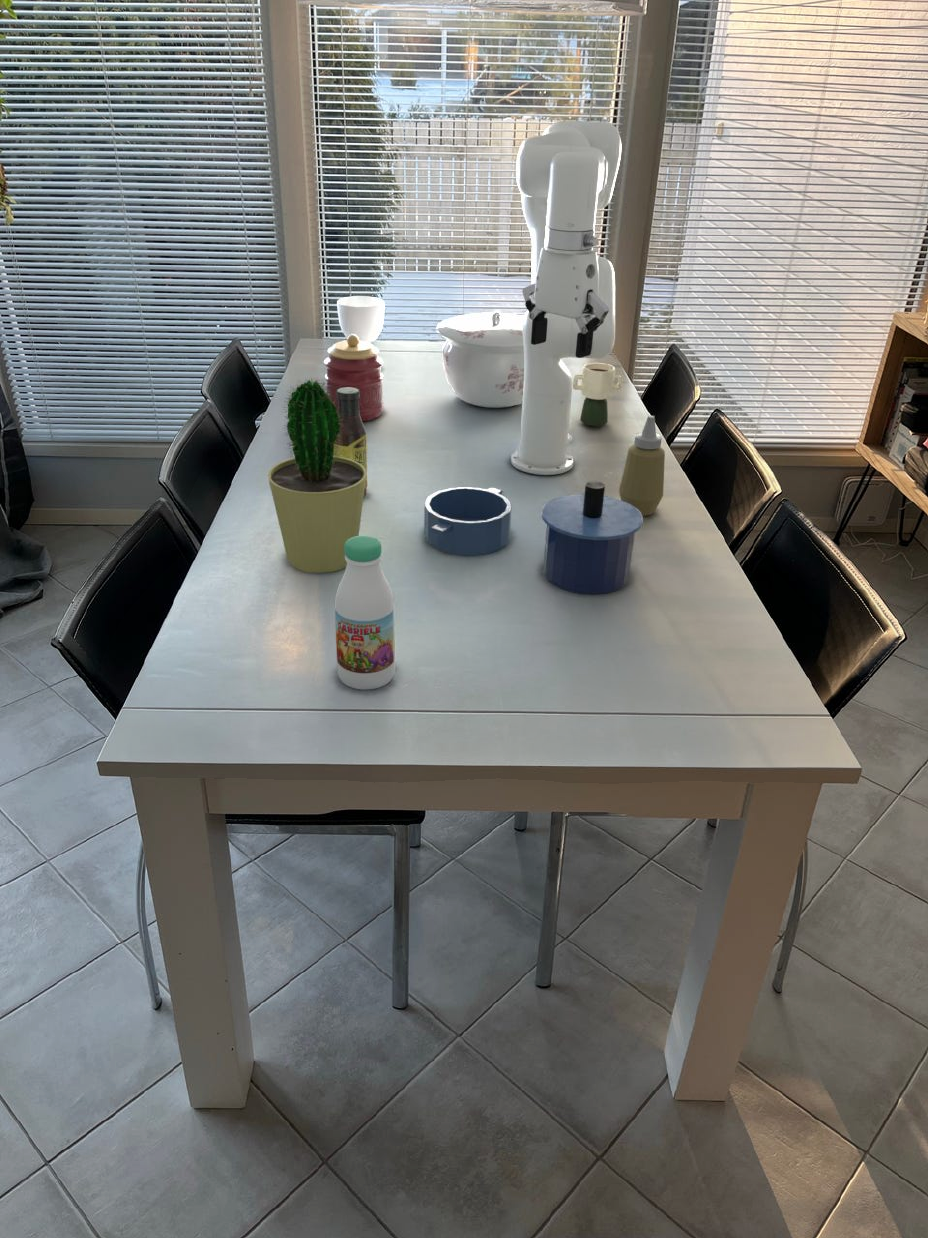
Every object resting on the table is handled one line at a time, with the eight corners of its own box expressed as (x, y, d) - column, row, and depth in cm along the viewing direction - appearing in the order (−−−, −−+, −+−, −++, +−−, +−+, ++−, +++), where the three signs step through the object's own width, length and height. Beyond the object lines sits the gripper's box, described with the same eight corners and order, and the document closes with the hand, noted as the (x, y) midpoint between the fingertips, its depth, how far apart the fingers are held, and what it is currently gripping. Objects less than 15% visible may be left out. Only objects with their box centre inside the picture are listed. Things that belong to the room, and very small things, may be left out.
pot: (565, 546, 165) (570, 492, 160) (641, 567, 159) (649, 512, 154) (528, 579, 155) (532, 522, 149) (608, 603, 149) (615, 545, 144)
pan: (399, 547, 163) (399, 514, 160) (460, 506, 178) (461, 475, 175) (474, 569, 157) (476, 536, 154) (530, 525, 172) (533, 494, 168)
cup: (339, 362, 252) (337, 295, 243) (384, 362, 253) (383, 295, 244) (339, 376, 242) (336, 306, 233) (386, 376, 243) (385, 307, 234)
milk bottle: (338, 659, 133) (332, 528, 123) (394, 658, 134) (393, 528, 123) (336, 692, 127) (330, 557, 116) (395, 690, 127) (394, 556, 117)
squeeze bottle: (663, 505, 181) (677, 412, 171) (656, 522, 174) (670, 427, 165) (621, 498, 183) (632, 406, 173) (612, 515, 176) (624, 420, 167)
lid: (523, 527, 149) (526, 490, 146) (567, 492, 161) (570, 457, 158) (618, 553, 143) (623, 515, 139) (656, 515, 154) (662, 479, 151)
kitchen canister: (394, 416, 218) (393, 338, 209) (343, 426, 212) (340, 345, 202) (366, 400, 227) (364, 324, 218) (316, 409, 221) (312, 331, 211)
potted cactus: (372, 576, 154) (368, 392, 138) (274, 581, 151) (259, 395, 136) (365, 533, 167) (360, 361, 151) (274, 538, 164) (260, 363, 149)
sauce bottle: (362, 503, 178) (359, 397, 167) (329, 499, 179) (324, 394, 168) (372, 489, 183) (369, 386, 173) (340, 485, 184) (336, 383, 174)
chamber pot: (462, 424, 215) (465, 330, 204) (417, 387, 236) (418, 300, 225) (572, 411, 225) (580, 320, 214) (520, 376, 246) (525, 293, 235)
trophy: (613, 418, 221) (619, 362, 214) (620, 429, 215) (627, 371, 208) (566, 418, 220) (571, 362, 213) (572, 429, 214) (577, 371, 207)
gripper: (628, 245, 147) (615, 357, 156) (543, 229, 158) (536, 334, 167) (597, 251, 143) (586, 365, 152) (512, 234, 153) (506, 342, 162)
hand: (560, 349), depth 159 cm, fingers open, 9 cm apart
